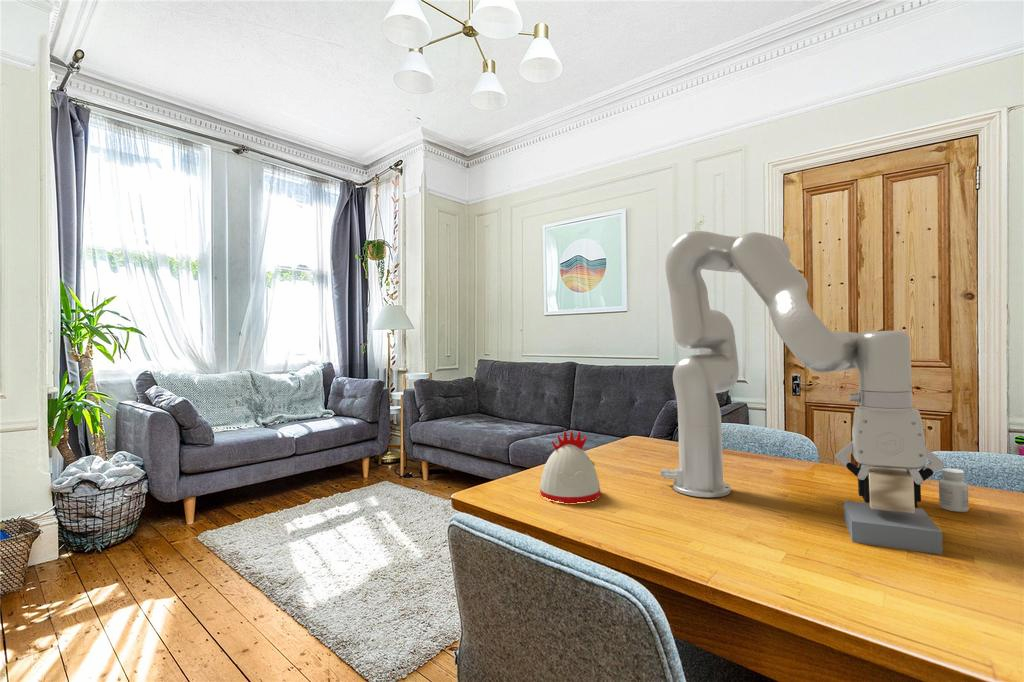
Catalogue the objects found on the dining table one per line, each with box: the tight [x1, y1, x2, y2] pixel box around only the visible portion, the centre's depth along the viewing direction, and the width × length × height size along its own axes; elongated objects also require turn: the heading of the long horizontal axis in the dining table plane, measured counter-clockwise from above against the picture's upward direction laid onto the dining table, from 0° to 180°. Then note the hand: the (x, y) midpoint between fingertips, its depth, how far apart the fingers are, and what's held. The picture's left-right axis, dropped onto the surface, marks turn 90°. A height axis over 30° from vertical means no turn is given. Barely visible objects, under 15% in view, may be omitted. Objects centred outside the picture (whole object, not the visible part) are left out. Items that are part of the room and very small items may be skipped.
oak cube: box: [867, 467, 915, 513], centre depth 88 cm, size 6×6×6 cm
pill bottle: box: [938, 467, 970, 513], centre depth 100 cm, size 4×4×8 cm
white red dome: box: [539, 430, 601, 503], centre depth 116 cm, size 14×14×15 cm
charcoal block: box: [843, 500, 943, 555], centre depth 88 cm, size 12×12×4 cm
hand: (889, 501), depth 88 cm, fingers closed on oak cube, 6 cm apart
